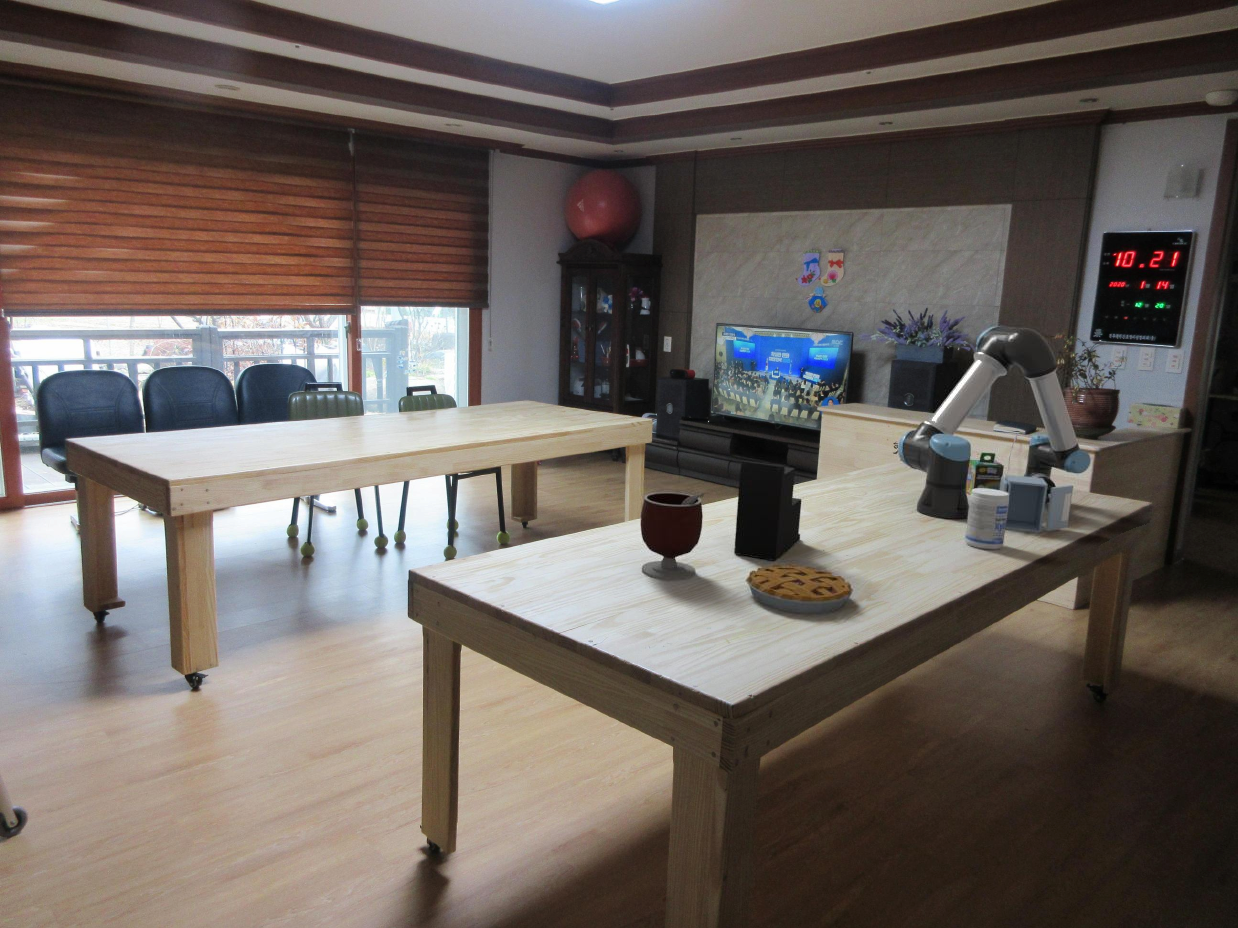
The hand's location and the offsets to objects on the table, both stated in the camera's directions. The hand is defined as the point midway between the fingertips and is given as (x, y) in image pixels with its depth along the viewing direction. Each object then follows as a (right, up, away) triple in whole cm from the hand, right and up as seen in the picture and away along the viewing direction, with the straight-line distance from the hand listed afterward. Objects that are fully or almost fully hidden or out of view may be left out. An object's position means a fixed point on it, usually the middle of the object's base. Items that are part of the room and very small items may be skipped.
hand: (1054, 503), depth 262 cm
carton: (-12, -7, -4) cm, 14 cm away
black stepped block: (-91, -10, -37) cm, 98 cm away
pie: (-91, -17, -74) cm, 118 cm away
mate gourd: (-117, -13, -61) cm, 132 cm away
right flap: (-3, -7, -8) cm, 11 cm away
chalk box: (-6, +1, +37) cm, 37 cm away
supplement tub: (-31, -10, -26) cm, 42 cm away
